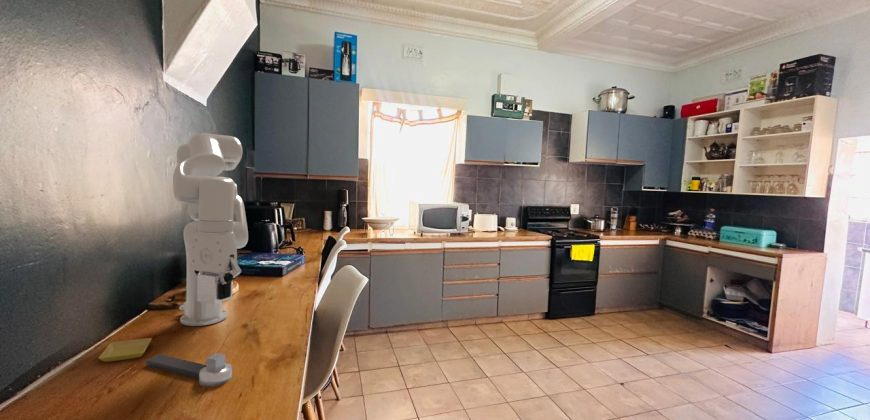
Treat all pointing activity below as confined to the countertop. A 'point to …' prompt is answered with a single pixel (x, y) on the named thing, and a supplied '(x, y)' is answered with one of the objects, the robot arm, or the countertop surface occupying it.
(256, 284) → the countertop surface
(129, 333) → the countertop surface
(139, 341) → the flat yellow-green tile
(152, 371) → the countertop surface
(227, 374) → the ratchet
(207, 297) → the white block
